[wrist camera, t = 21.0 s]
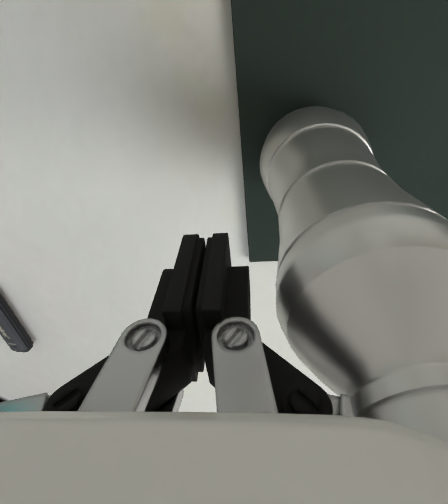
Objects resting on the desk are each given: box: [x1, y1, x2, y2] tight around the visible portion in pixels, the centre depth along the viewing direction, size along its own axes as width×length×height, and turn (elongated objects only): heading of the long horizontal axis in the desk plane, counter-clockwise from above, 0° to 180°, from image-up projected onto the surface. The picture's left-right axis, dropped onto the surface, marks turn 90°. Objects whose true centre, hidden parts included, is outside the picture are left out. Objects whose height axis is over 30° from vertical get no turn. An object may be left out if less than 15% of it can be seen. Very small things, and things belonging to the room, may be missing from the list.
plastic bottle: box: [260, 106, 448, 443], centre depth 14 cm, size 6×7×20 cm
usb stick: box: [0, 294, 33, 352], centre depth 34 cm, size 10×3×2 cm, turn 6°
